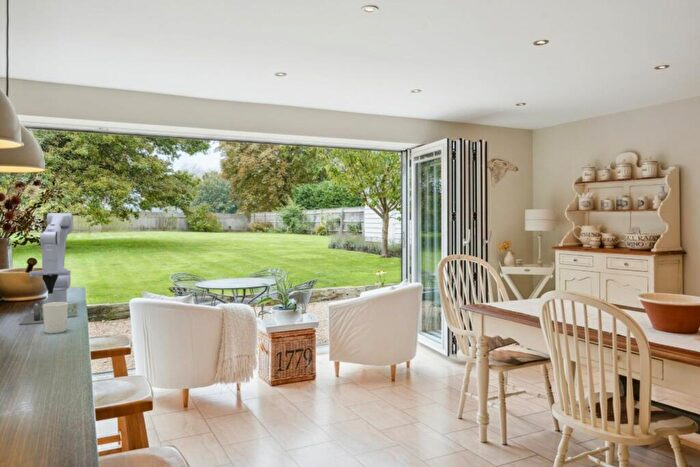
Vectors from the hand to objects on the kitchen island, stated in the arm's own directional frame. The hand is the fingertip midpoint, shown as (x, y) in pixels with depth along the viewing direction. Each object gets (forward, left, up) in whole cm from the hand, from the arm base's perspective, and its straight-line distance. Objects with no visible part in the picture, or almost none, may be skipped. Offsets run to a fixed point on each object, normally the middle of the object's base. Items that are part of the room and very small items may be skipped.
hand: (50, 293), depth 207 cm
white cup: (+31, +6, -10) cm, 33 cm away
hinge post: (+10, -3, -10) cm, 14 cm away
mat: (+4, -1, -10) cm, 10 cm away
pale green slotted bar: (+5, +4, -9) cm, 11 cm away
